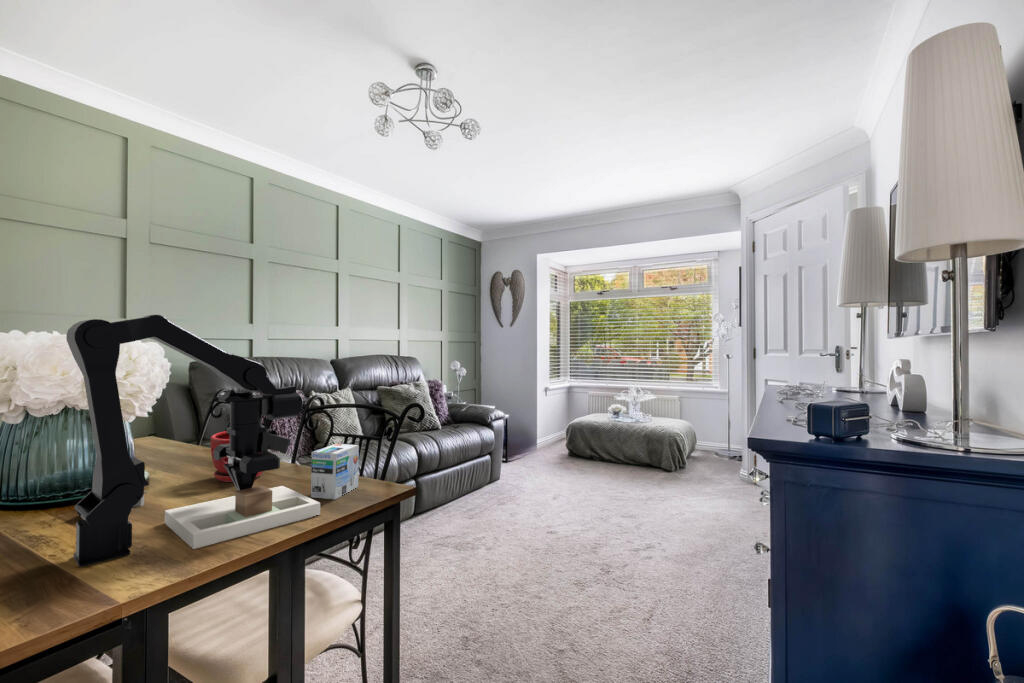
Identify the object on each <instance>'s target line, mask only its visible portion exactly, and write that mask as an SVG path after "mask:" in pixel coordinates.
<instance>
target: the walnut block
mask: <svg viewBox="0 0 1024 683" xmlns="http://www.w3.org/2000/svg"><path fill="white" fill-rule="evenodd" d="M234 496H235V511H236V512H237V513H239V514H241V515H242V516H244V517H248V516H252V515H257V514H261V513H265V512H269V511H272V490H270V489H269V488H268V487H265V486H263V485H258V486H252V488H248V489H243V490H238V491H237V490H235V495H234Z"/></svg>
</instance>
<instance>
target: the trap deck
mask: <svg viewBox="0 0 1024 683" xmlns="http://www.w3.org/2000/svg"><path fill="white" fill-rule="evenodd" d="M268 489H270V490H272V511H269V512H265V513H261V514H257V515H252V516H248V517H244V516H242V515H241V514H239V513H237V512H236V511H235V495H232V496H227V497H224V498H218V499H212V500H209V501H203V502H198V503H194V504H190V505H185V506H180V507H175V508H170V509H165V510H164V524H165V525H166V526H167V527H168V528H169V529H171V531H173V532H174V533H175V534H176V535H177V536H178V537H179V538H180V539H181V540H182V541H184V542H185V543H186V544H187V545H188V546H189V547H190V548H191V549H193V550H195V549H199V548H203V547H206V546H210V545H213V544H218V543H222V542H224V541H229V540H232V539H233V540H234V539H237V538H239V537H244V536H246V535H251V534H255V533H258V532H263V531H266V530H268V529H272V528H277V527H281V526H284V525H287V524H291V523H295V522H299V521H303V520H307V519H310V518H313V516H314V517H317V516H316V515H318V516H320V515H321V502H319V501H317V500H315V499H313V498H312V497H309V496H306V495H304V494H301V493H299V492H297V491H295V490H293V489H291V488H288V487H286V486H284V485H279V486H275V487H269V488H268Z"/></svg>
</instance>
